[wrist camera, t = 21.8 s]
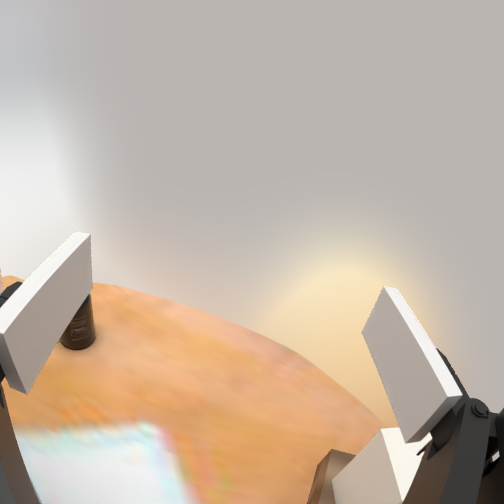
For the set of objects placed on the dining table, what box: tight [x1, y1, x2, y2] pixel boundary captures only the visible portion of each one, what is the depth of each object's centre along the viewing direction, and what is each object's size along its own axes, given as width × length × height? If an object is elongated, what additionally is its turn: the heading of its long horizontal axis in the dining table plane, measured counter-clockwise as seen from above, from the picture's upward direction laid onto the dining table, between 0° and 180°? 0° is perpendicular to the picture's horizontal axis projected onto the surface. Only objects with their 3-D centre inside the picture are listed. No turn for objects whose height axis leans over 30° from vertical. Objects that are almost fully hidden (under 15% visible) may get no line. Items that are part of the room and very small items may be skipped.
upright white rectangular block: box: [332, 427, 432, 504], centre depth 24 cm, size 8×8×12 cm
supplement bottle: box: [60, 293, 95, 349], centre depth 45 cm, size 7×7×12 cm
